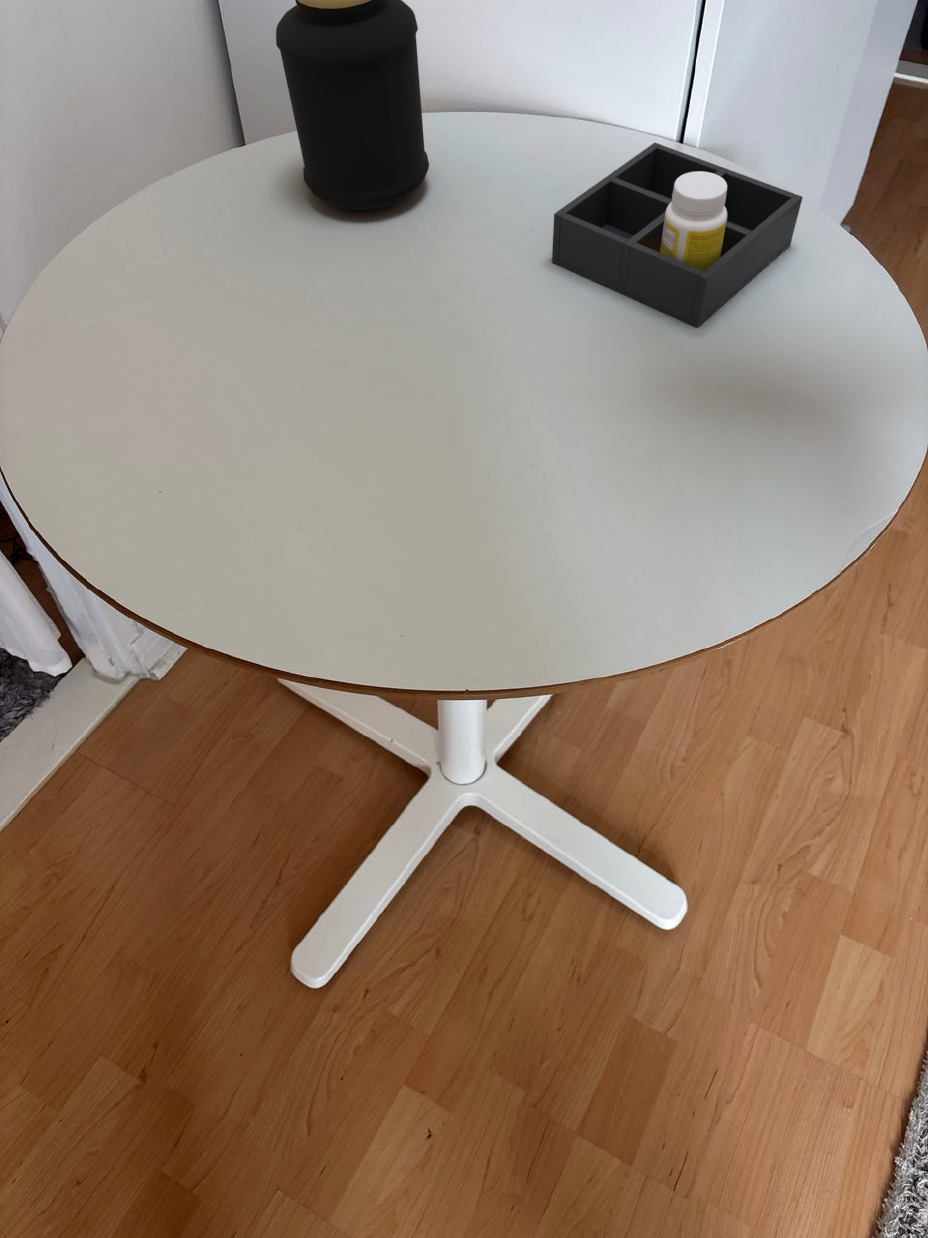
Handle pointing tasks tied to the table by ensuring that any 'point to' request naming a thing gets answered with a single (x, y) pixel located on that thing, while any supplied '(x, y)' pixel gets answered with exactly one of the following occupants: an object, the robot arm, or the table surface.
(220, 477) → the table surface
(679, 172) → the box
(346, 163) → the container
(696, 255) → the supplement bottle
